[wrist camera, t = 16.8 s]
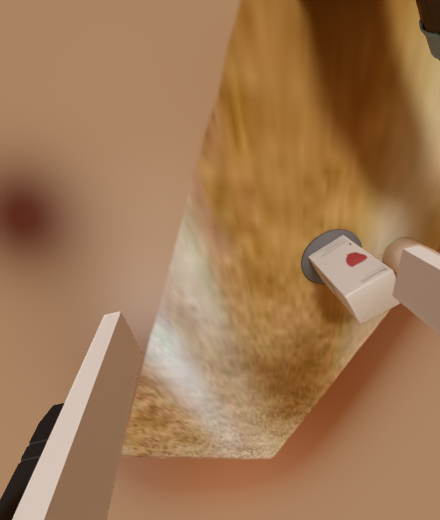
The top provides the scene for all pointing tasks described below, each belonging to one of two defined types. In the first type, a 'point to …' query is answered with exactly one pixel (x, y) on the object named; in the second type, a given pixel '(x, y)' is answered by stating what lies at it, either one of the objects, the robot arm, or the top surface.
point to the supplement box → (356, 278)
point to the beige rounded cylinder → (400, 252)
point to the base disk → (318, 244)
